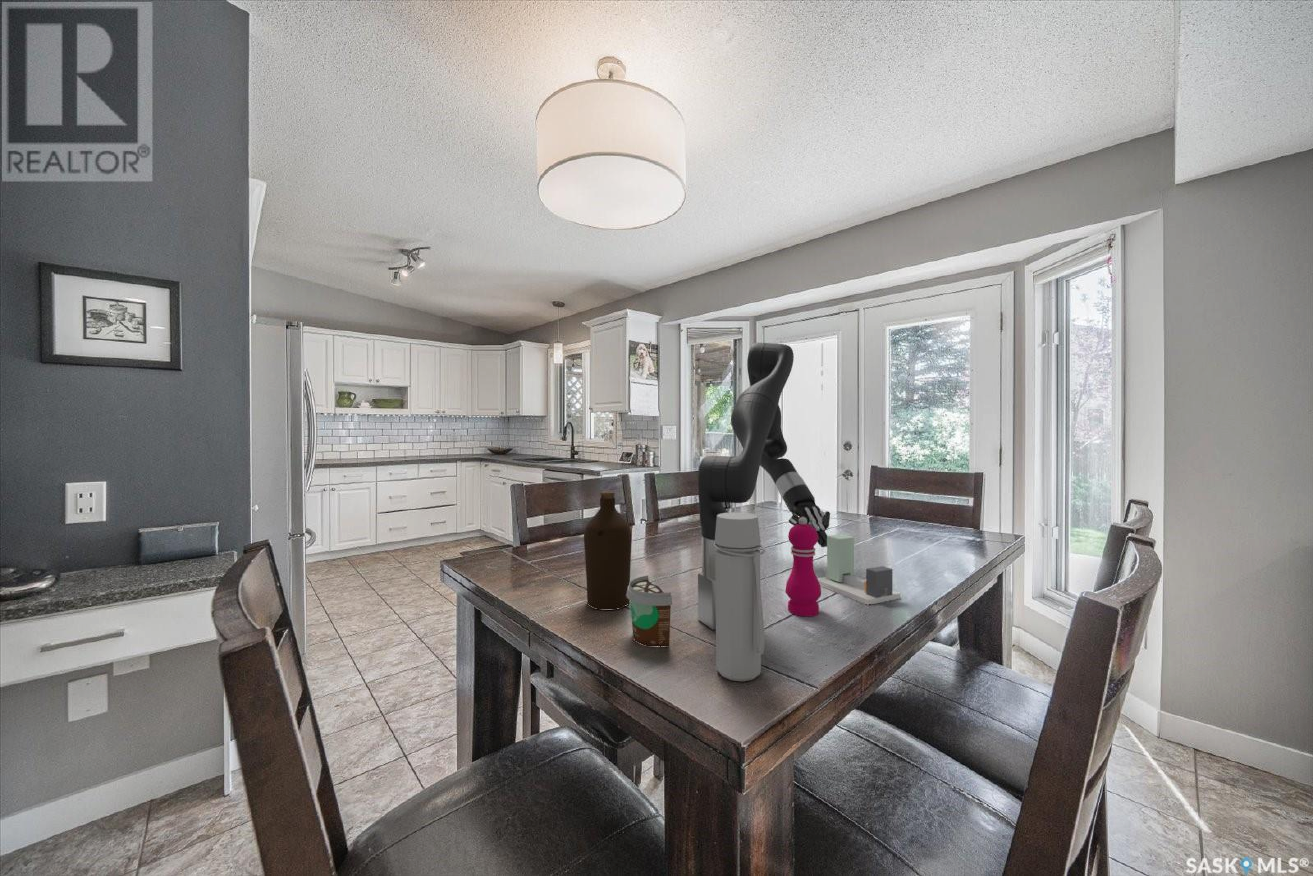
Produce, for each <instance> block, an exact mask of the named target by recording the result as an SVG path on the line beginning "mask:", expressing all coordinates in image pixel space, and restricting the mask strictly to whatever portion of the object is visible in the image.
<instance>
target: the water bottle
mask: <svg viewBox="0 0 1313 876" xmlns="http://www.w3.org/2000/svg"><path fill="white" fill-rule="evenodd" d="M759 524H760V523H759V515H757V514H754V513H750V512H748V513H747V512H734V511H733V512H729V513H722V514H718V515H717V520H716V532H715V542H714V546H715V547H716V548H717V549H716V551H715V574H716V629H715V669H716V670H717V671H718V673H719V674H720V675H721V676H722V677H723V678H725V679H727V680H730V681H735V682H746V681H747V682H748V681H752V680H754V679H756V678H757V677H758V676H760V674H761V671H762V654H764V650H765V642H766V641H765V640H766V636H765V625H764V613H763V612H764V611H763V601H762V592H761V591H762V589H761V556H762V555H764V554H765V553H766V551H767V550H766V547H765V546H764V545H763V544H761V534H760V525H759ZM761 548H762V551H761V550H760V549H761Z"/></svg>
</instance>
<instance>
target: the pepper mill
mask: <svg viewBox="0 0 1313 876" xmlns="http://www.w3.org/2000/svg"><path fill="white" fill-rule="evenodd" d="M787 537H788V541H789V543H790V544H791V546H790V550H791V551H790V554H791V555H792V557H793V559H792V560H793V561H792V564H793V565H792V568H791V572H790V574H789V577H788V578H787V580H786V584H785V593H786V595H787V597H788V598H789V600H788V601H787V610H788V612H789V613H791V614H792V615H795V616H799V617H814V616H817V615H818V614H819V613H820V607H819V606H820V604H819V603H818V600H819V599H820V598H821V596H822V587H821V586H820V584H819V581H818V579H817V578H818V577H817V575H816V572H815V569H814V556H816V548H815V545H817V544H818V542H817V541H818V535H817V532H816V530H815V529H814V528H813V527H812V526H810V525H807V519H806V518H805V517H801V518H800V519H799V524H797V525H795V526H794V525H792V527H791V528H790V529H789V531H788V536H787Z"/></svg>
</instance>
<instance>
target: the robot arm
mask: <svg viewBox="0 0 1313 876" xmlns="http://www.w3.org/2000/svg"><path fill="white" fill-rule="evenodd" d="M746 359H747V360H746V362H747V363H746V364H747V365H746V366H747V369H746V370H747V375H748V380H749V381H748V382H749V385H750V386H749V387H747V388H746V389H745V390H744V391H743V392H742V393H740V395H739V396H738V398H737V400H736V402H735V406H734V408H733V410H732V412H731V416H730V423H731V428H732V430H733V433H734V434H735V436H736V437H737V439H738V441H739V443H740V445H741V448H742V451H741V453H740V454H739V455H737V456H736V455H735V456H732V455H731V456H730V455H728V456H727V455H708V456H705V457H704V458H702V460H701V461H700V464H699V467H698V471H697V493H698V507H699V508H698V509H699V511H698V512H699V523H700V528H701V572H698V573H697V620H699V621H700V622H701V623H702V624H704V625H706V626H707V627H708V628H710V629H711V630H713V631H716V574H715V551H716V549H717V548H716V547H715V546H714V542H715V532H716V520H717V515H718V514H722V513H730V512H729V511H728V510H726V509H725V507H724V505H723V503H728V504H731V503H732V504H744V503H748V501H750V500H751V498H752V496H753V495H754V492H755V489H756V485H757V481H758V476H759V471H760V467H761V468H763V470H764V471H765V472H766V473H767V474H768V475H769V476H770V478H771V479H772V481H773V483H774V484H775V486H776V489H777V490H778V493H779V495H780V497H781V498H782V500H783V502H784V504H785V506H786V507H787V510H788V511H789V512H791V514H792V515H791V517H790V518H789V519H788V522H789V524H791V526H795V525H797V524H799V519H800V518H801V517H805V518H806V519H807V525H810V526H812V527H813V528H814V529H815V530H816V532H817V535H818V541H817V544H818V545H819V546H820V547H821V548H827V536H828V535H827V533H826V531H827V529H828V528H829V527H830V517H831V512H830V511H825V512H824V511H823V510H821V508H820V506H818V505H817V504H816V500H815V497H814V495H813V493H812V492H811V490H810V489H809V487H808V485H807V484H806V482H805V480H804V479H803V478H802V476H801V475H800V474H799V473H798V471H797V470H796V468H795V466H794V465H793V463H792V461H790V459H788V458H782V457H784V456H785V455H786V454H787V451H788V445H787V442H786V440H785V438H784V437H785V436H784V434H783V430H782V411H781V410H782V409H781V408H780V405H779V403H780V402H779V401H780V399H781V396H782V393H783V391H784V388H785V386H786V384H787V381H788V379H789V378H790V374H791V372H792V369H793V365H794V350H793V348H792V347H791V346H790V345H787V344H785V343H774V342H773V343H772V342H754V343H752V345H751V346H750V348H749V350H748V354H747V358H746Z"/></svg>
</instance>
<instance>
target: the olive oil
mask: <svg viewBox="0 0 1313 876" xmlns="http://www.w3.org/2000/svg"><path fill="white" fill-rule="evenodd" d="M599 493H600V494H599V495H600V497H599V506H600V507H599V509H598V511H597V512H596V513H595V514H594V515H593V516H592V517H591V519H589V521H588V522H587V524H586V526H585V529H584V533H583V546H584V561H585V576H586V578H585V579H586V601H587V603H586V604H587V605H588V604H589V605H590V606H592V607H594V608H597V609H617V608H621V607H623V606H625V605H627V604H628V605H630V600H629V599H628V598H627V597H626V594H627V589H628V586H629V583H630V581H631V565H632V564H631V562H632V560H631V559H632V541H633V540H632V539H633V538H632V537H633V535H632V530H631V526H630V524H629V522H628V521H627V520H626V518H625V517H624V516H623V515H622V514H620V512H619V511H618V510H617V509H616V497H615V495H616V494H615V493H616V492H615V491H613V490H605V491H601V492H599ZM628 605H627V606H628ZM621 609H622V608H621ZM617 610H618V609H617Z"/></svg>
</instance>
